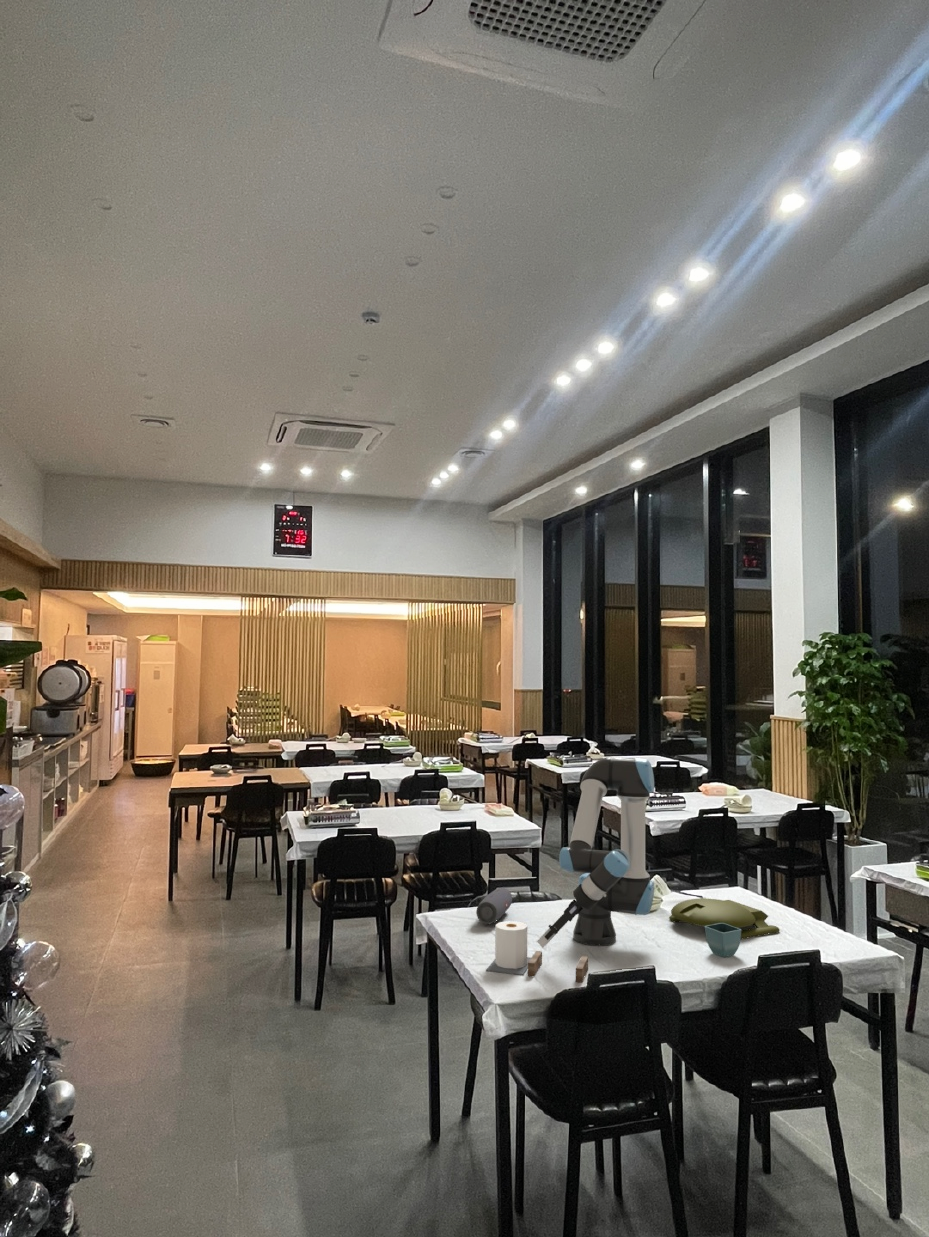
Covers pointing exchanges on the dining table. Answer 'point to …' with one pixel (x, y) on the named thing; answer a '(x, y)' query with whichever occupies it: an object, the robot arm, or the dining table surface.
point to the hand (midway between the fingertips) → (546, 937)
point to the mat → (518, 971)
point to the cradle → (537, 962)
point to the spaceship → (722, 915)
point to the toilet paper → (511, 944)
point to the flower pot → (723, 939)
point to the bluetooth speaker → (494, 905)
